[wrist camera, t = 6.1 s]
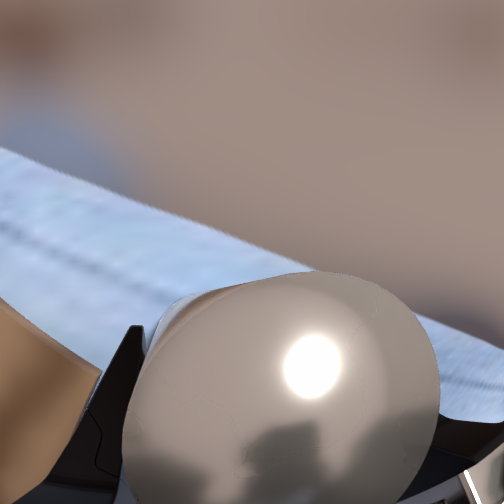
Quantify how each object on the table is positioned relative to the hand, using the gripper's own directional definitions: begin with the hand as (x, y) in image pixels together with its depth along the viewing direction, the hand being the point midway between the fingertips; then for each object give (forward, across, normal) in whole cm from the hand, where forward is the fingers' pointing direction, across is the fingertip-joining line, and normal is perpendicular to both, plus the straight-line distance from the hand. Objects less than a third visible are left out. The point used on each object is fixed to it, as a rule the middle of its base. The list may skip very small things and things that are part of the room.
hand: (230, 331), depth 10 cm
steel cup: (+4, 0, +6) cm, 7 cm away
